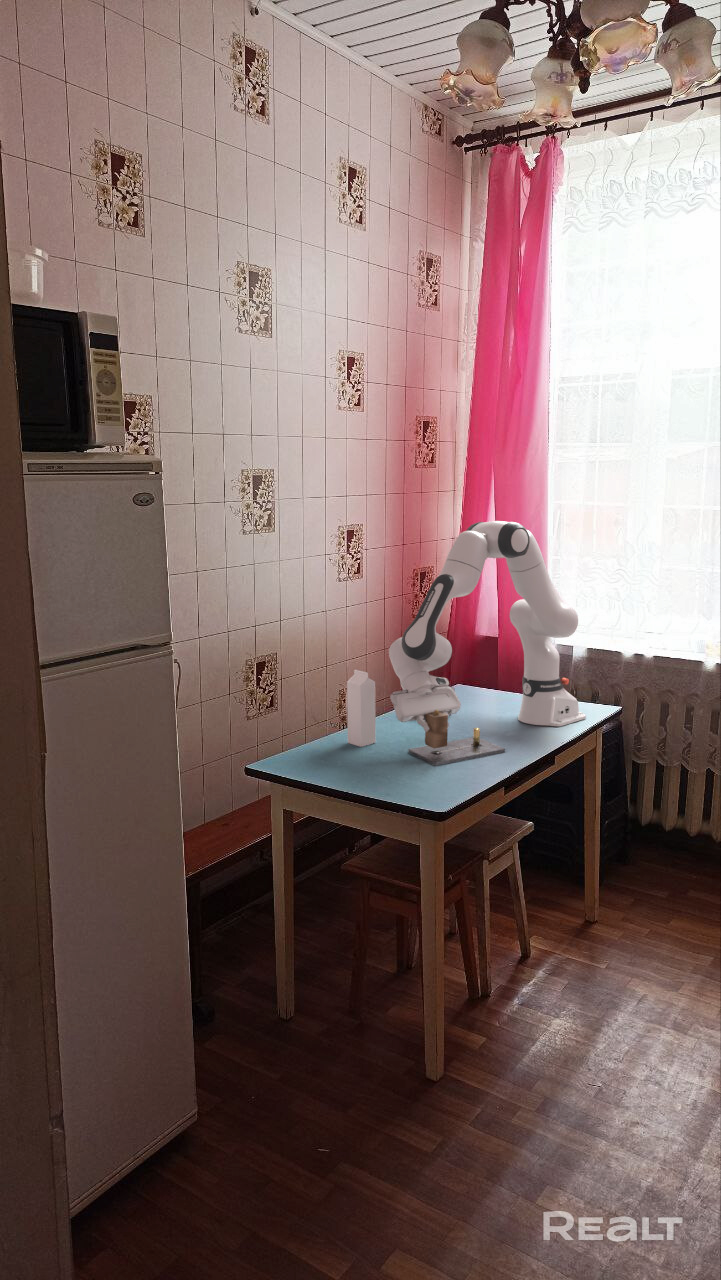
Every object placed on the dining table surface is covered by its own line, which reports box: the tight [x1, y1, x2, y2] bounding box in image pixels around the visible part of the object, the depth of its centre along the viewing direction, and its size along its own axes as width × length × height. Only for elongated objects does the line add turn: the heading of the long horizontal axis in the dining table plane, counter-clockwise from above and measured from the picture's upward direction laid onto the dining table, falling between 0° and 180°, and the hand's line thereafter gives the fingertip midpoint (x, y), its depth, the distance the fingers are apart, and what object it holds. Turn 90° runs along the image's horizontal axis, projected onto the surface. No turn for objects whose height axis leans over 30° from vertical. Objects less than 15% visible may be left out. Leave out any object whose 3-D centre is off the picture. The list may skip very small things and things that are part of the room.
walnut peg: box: [424, 710, 449, 748], centre depth 253 cm, size 4×4×10 cm
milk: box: [346, 669, 376, 748], centre depth 265 cm, size 6×6×22 cm
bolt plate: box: [407, 727, 506, 767], centre depth 257 cm, size 24×14×6 cm, turn 119°
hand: (437, 729), depth 252 cm, fingers closed on walnut peg, 4 cm apart
